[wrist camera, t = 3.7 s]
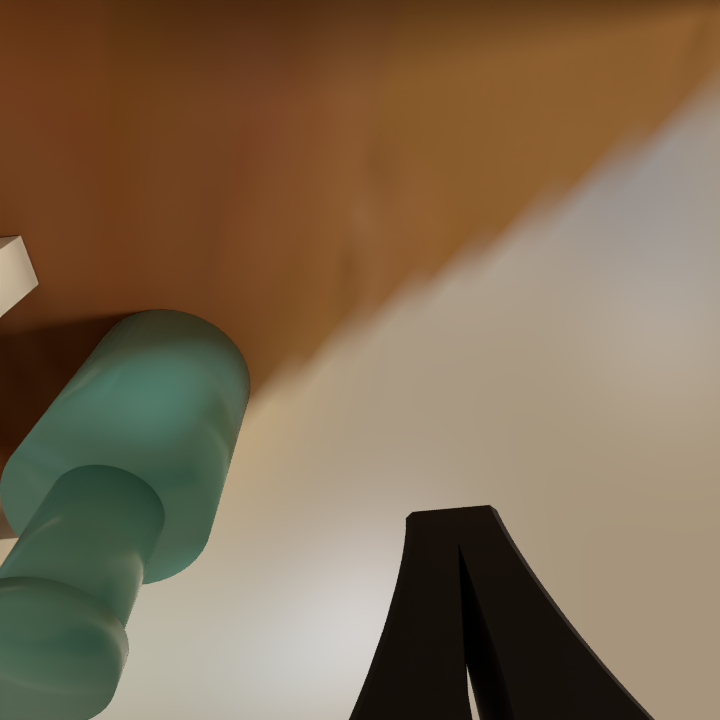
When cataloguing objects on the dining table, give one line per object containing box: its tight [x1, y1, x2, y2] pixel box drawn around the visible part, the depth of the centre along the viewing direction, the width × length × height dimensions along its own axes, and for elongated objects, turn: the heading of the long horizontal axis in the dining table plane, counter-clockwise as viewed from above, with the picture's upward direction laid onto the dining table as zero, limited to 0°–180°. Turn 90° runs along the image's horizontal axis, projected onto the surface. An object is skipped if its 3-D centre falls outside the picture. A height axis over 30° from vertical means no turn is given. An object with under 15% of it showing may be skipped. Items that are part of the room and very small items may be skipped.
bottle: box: [0, 310, 250, 720], centre depth 13 cm, size 4×4×8 cm
